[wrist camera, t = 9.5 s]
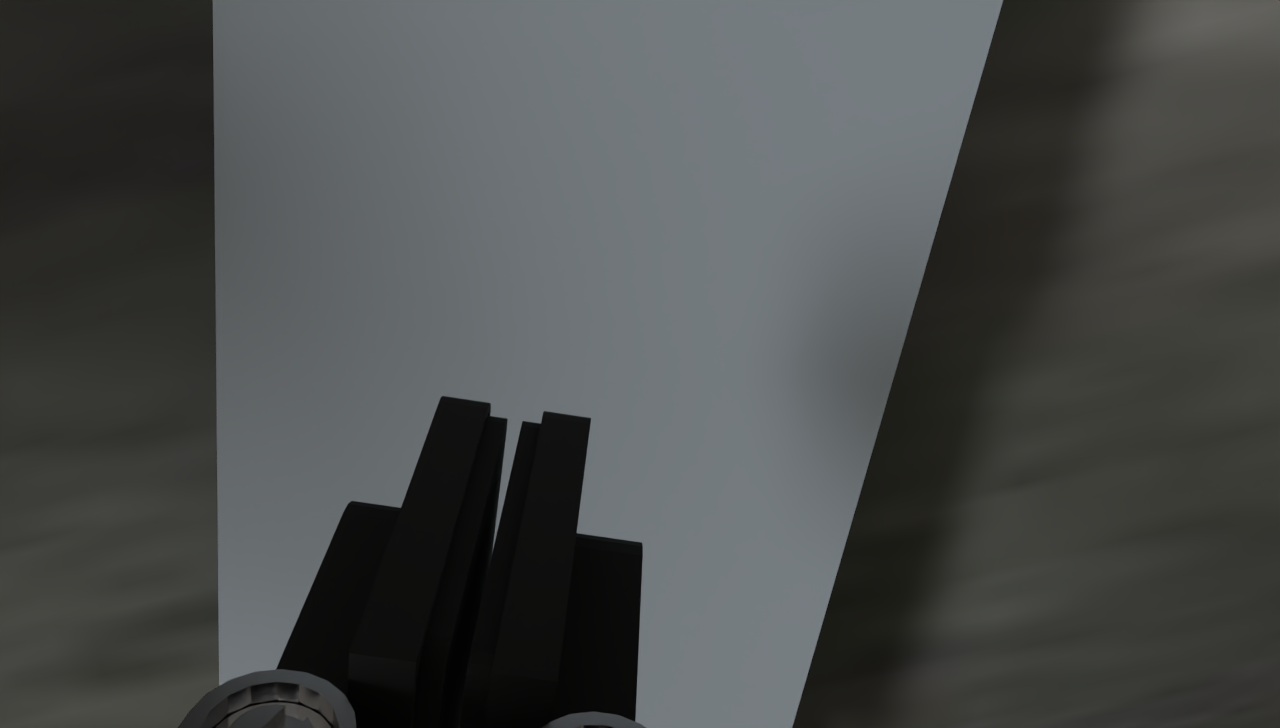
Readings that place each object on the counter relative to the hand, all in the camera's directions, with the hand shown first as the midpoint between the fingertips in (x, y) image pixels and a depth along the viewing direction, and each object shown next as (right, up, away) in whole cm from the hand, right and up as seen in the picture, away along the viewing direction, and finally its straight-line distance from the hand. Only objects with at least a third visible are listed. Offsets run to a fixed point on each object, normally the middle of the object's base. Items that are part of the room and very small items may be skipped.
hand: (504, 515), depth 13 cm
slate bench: (+1, +4, +6) cm, 7 cm away
